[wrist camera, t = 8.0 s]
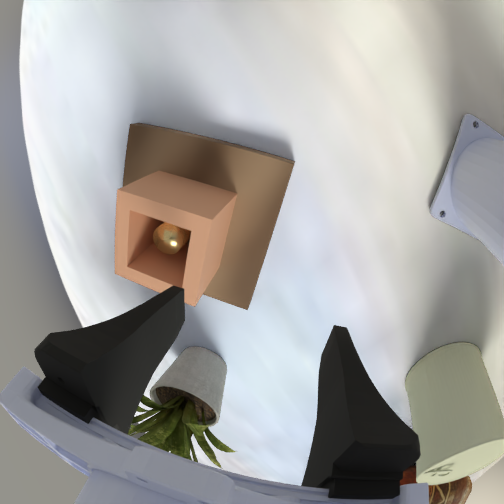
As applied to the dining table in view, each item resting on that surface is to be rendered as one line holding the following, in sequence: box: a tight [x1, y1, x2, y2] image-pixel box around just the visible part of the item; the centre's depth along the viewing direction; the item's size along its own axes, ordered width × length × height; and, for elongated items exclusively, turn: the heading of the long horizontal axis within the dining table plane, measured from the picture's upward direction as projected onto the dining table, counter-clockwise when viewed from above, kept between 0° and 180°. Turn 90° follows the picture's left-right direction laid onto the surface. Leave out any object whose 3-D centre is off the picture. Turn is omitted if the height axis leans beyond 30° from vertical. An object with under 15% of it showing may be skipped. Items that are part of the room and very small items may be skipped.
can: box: [405, 342, 504, 485], centre depth 19 cm, size 9×9×12 cm
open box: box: [115, 171, 237, 307], centre depth 19 cm, size 6×6×5 cm
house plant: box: [127, 347, 236, 468], centre depth 23 cm, size 14×14×16 cm
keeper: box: [123, 123, 295, 310], centre depth 20 cm, size 12×12×5 cm
